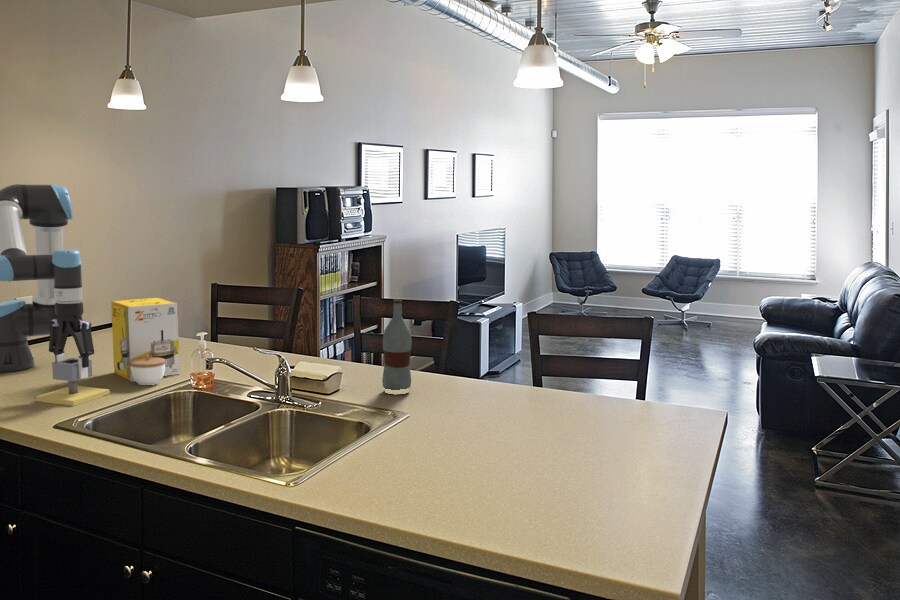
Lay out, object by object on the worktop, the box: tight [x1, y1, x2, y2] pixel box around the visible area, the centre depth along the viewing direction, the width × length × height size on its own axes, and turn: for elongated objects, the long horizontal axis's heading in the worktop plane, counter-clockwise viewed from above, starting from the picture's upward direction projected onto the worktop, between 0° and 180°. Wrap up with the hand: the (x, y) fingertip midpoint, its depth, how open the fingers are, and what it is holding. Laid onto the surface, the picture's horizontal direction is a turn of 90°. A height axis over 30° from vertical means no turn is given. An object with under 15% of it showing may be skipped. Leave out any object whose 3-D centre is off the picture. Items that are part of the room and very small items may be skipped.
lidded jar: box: [130, 355, 165, 386], centre depth 242 cm, size 11×11×9 cm
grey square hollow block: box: [51, 357, 93, 382], centre depth 223 cm, size 8×8×5 cm
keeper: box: [35, 380, 111, 407], centre depth 224 cm, size 14×14×6 cm
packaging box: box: [110, 297, 180, 382], centre depth 254 cm, size 16×16×25 cm
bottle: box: [381, 299, 412, 390], centre depth 236 cm, size 9×9×30 cm
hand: (72, 376), depth 223 cm, fingers closed on grey square hollow block, 7 cm apart
